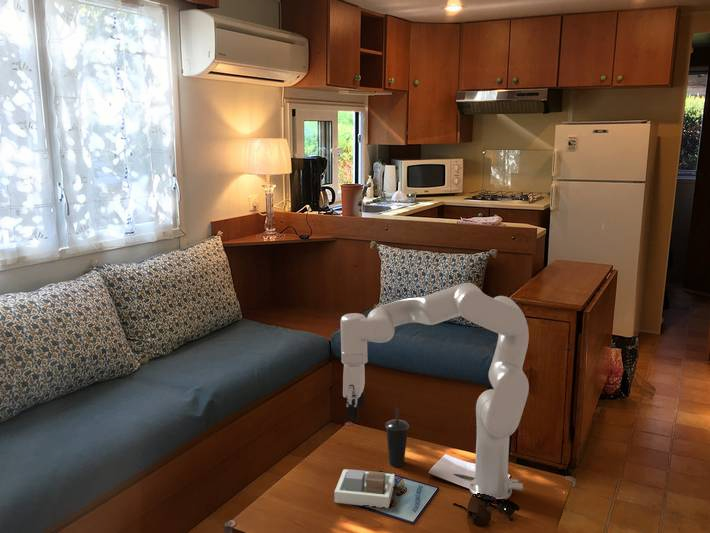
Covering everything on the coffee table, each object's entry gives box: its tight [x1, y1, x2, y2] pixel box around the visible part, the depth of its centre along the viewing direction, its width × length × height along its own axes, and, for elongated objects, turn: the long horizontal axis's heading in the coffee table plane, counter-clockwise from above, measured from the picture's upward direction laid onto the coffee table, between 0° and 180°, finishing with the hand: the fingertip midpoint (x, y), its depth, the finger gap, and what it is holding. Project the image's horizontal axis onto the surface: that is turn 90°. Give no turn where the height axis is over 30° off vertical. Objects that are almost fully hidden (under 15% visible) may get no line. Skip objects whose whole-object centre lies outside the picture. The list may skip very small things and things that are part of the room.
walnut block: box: [366, 470, 387, 494], centre depth 198 cm, size 5×5×5 cm
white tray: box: [333, 468, 395, 509], centre depth 199 cm, size 16×13×4 cm
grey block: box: [345, 468, 366, 492], centre depth 199 cm, size 5×5×5 cm
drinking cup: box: [385, 405, 410, 468], centre depth 215 cm, size 8×8×20 cm
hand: (355, 411), depth 194 cm, fingers open, 9 cm apart
